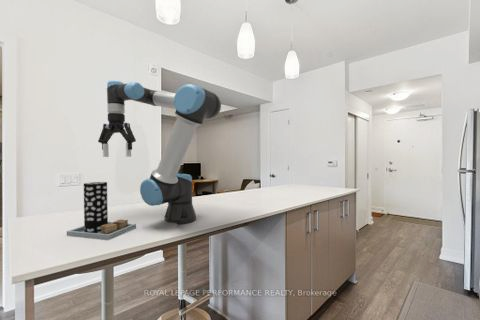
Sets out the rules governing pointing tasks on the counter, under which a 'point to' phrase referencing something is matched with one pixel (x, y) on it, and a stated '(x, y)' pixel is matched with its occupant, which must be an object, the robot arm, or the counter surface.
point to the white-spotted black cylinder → (95, 206)
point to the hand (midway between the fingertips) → (117, 156)
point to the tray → (80, 233)
